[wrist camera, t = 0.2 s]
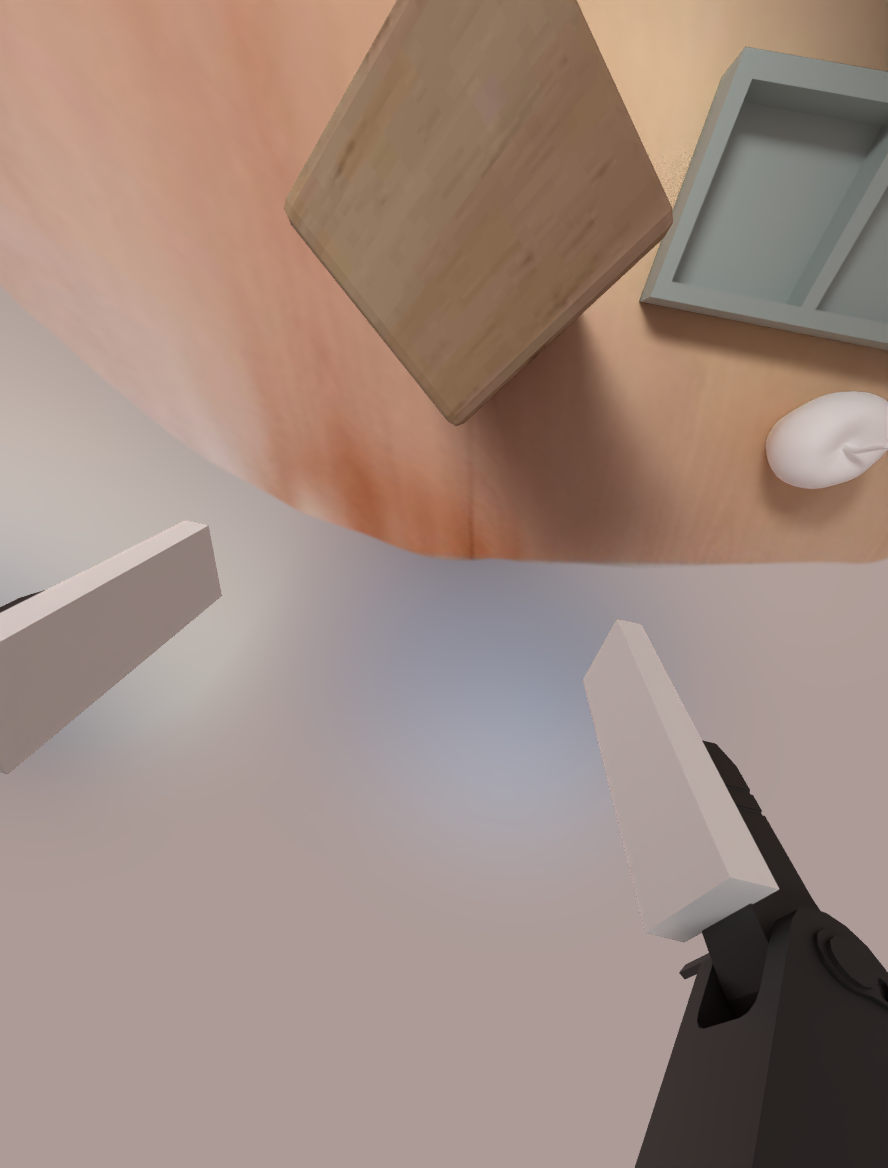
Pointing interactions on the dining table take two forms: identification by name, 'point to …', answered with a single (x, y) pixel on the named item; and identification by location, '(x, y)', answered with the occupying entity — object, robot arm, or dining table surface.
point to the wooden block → (478, 189)
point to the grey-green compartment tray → (785, 203)
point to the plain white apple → (829, 439)
